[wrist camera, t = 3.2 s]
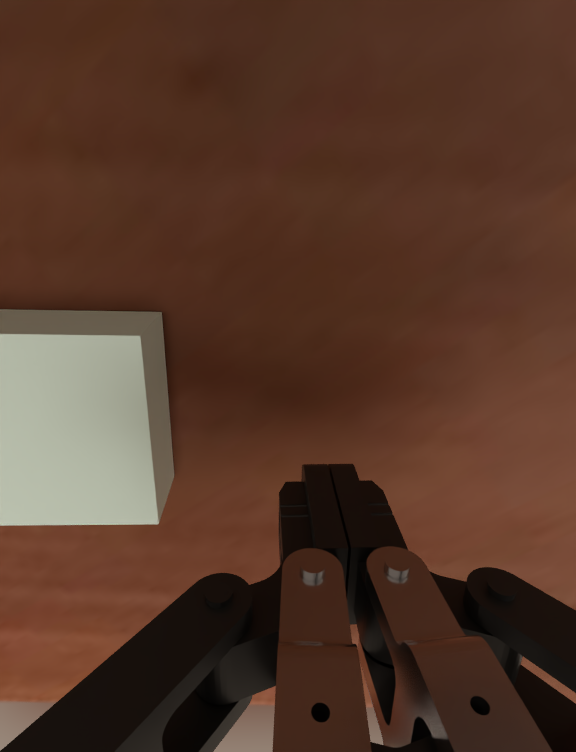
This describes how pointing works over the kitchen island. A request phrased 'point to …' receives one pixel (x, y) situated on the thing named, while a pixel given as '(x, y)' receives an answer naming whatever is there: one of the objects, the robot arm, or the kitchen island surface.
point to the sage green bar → (83, 418)
